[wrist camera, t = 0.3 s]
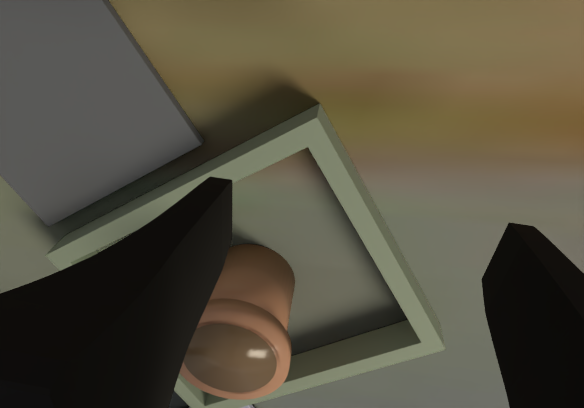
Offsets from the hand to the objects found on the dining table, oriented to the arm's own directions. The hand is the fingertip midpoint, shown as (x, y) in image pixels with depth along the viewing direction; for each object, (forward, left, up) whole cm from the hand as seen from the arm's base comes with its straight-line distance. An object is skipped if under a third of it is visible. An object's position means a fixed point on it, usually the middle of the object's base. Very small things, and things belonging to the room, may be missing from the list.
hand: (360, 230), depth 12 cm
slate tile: (-13, +8, -10) cm, 18 cm away
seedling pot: (-10, -6, -10) cm, 16 cm away
